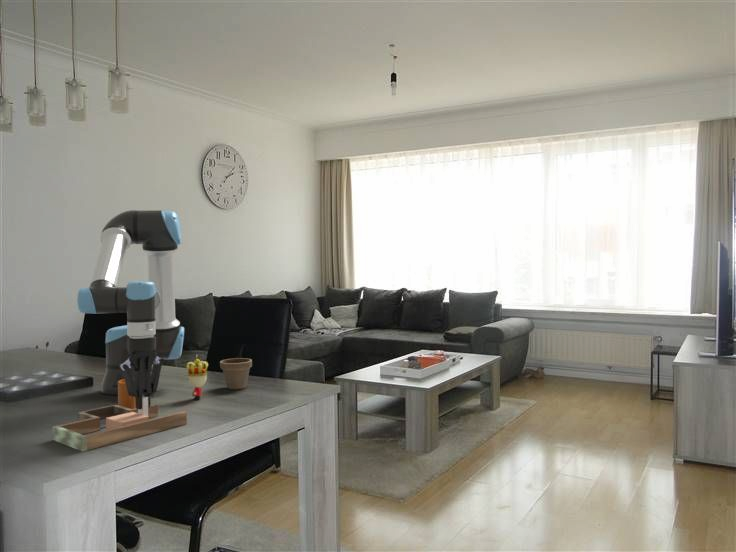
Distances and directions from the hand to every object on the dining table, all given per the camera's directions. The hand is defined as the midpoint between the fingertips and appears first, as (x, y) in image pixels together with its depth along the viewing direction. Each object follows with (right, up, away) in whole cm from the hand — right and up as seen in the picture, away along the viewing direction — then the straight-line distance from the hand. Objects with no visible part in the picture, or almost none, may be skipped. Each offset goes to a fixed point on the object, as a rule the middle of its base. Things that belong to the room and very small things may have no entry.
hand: (143, 419), depth 168 cm
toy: (+6, -1, +33) cm, 33 cm away
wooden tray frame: (-7, -2, -2) cm, 8 cm away
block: (-3, -2, -4) cm, 5 cm away
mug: (-11, -2, +19) cm, 22 cm away
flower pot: (+15, -1, +50) cm, 52 cm away
